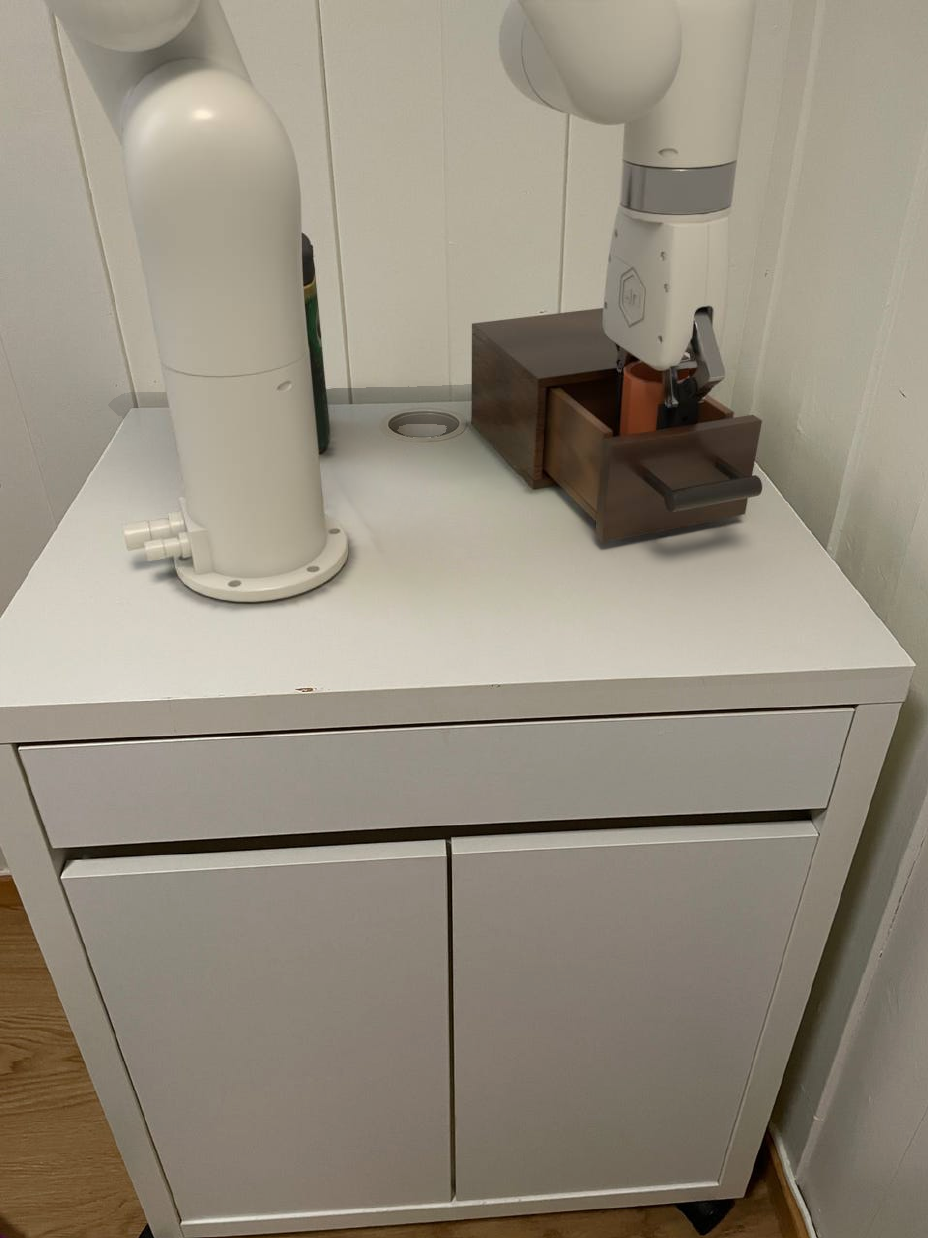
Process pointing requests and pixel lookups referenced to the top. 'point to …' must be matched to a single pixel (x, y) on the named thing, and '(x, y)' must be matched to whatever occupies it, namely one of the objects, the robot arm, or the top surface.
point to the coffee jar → (315, 343)
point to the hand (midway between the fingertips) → (653, 433)
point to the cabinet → (532, 379)
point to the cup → (642, 397)
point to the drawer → (647, 462)
